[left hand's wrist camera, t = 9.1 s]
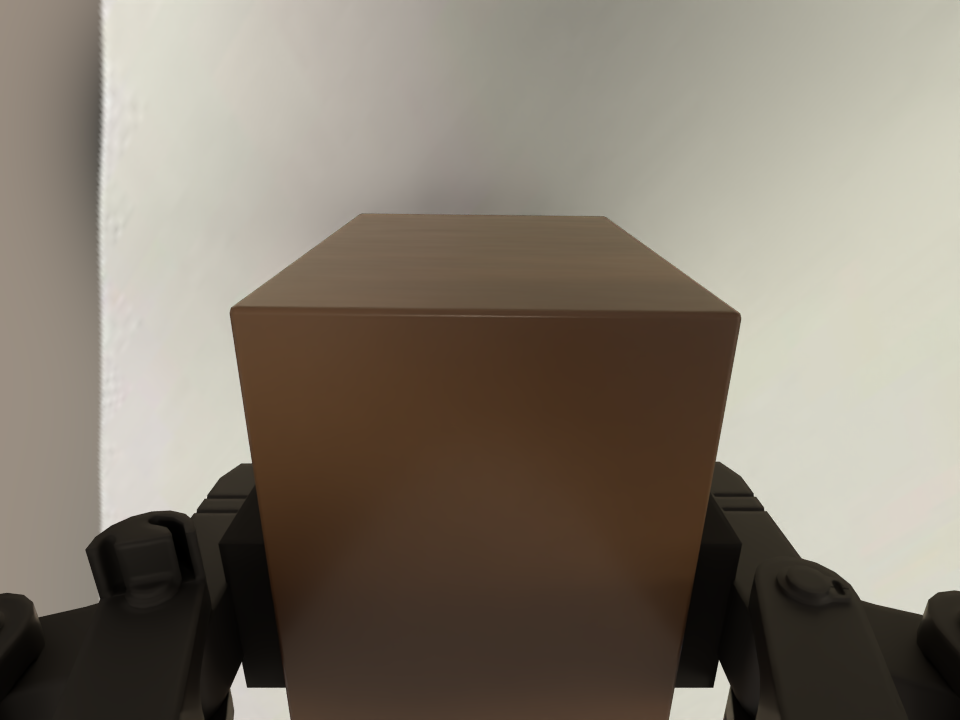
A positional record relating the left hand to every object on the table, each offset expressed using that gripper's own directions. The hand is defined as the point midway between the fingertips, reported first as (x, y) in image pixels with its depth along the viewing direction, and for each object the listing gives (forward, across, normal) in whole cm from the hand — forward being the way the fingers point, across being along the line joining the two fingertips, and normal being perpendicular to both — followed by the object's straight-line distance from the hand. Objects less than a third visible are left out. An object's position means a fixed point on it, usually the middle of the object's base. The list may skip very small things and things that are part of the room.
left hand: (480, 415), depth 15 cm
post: (0, 0, -32) cm, 32 cm away
